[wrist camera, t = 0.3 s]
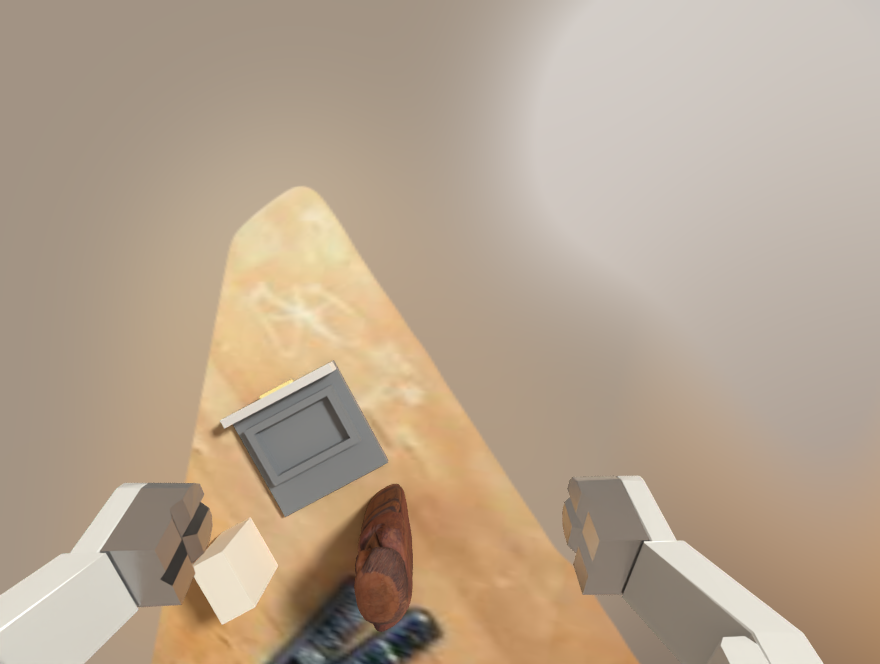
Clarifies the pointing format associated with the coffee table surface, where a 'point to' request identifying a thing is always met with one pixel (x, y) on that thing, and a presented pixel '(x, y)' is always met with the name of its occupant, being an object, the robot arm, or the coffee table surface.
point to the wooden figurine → (384, 560)
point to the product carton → (235, 570)
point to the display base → (308, 438)
